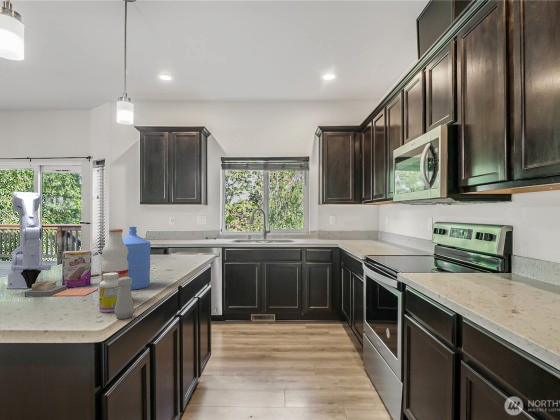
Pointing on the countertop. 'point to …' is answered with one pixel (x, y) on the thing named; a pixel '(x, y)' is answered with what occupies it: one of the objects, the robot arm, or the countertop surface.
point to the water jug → (138, 259)
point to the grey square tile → (45, 292)
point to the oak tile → (44, 285)
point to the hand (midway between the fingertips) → (30, 287)
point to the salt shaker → (124, 299)
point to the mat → (75, 292)
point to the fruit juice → (115, 255)
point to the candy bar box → (76, 268)
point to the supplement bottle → (108, 292)
